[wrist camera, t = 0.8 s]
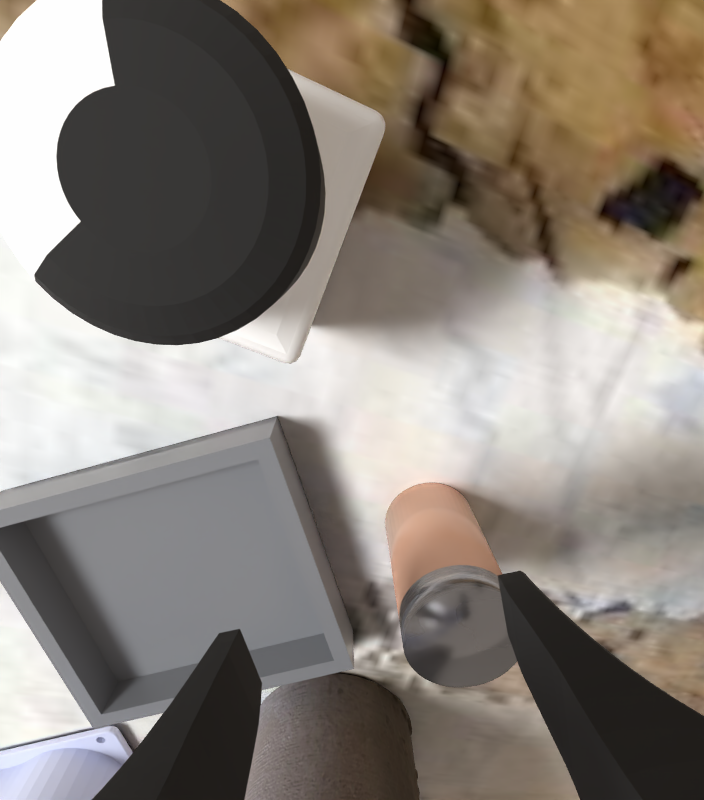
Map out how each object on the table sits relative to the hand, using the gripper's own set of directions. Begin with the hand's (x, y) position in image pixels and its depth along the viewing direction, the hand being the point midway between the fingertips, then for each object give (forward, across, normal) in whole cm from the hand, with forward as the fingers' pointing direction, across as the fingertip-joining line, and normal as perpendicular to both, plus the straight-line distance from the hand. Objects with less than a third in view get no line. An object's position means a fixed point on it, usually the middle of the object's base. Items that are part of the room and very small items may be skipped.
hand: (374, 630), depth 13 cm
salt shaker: (+10, -2, +4) cm, 11 cm away
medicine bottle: (+11, +2, -12) cm, 16 cm away
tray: (+10, +10, +4) cm, 15 cm away
